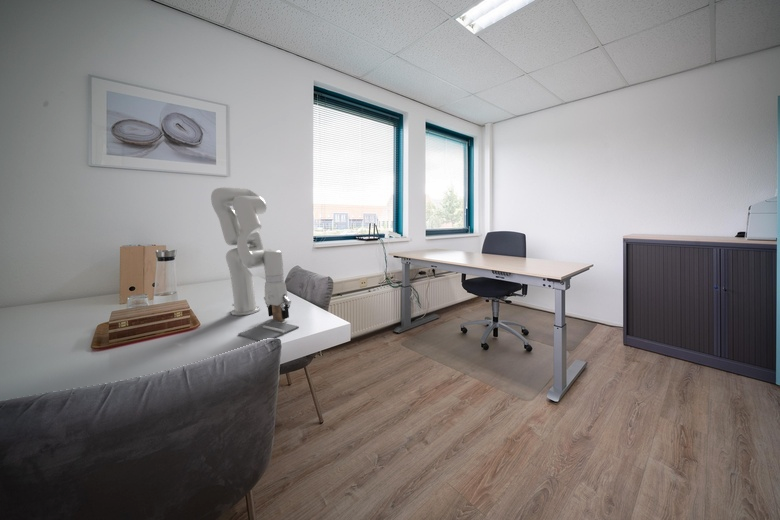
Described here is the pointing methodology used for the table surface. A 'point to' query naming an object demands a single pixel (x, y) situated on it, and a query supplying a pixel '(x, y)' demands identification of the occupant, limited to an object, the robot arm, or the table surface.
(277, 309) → the tile
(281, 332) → the mat
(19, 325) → the table surface
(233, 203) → the robot arm
